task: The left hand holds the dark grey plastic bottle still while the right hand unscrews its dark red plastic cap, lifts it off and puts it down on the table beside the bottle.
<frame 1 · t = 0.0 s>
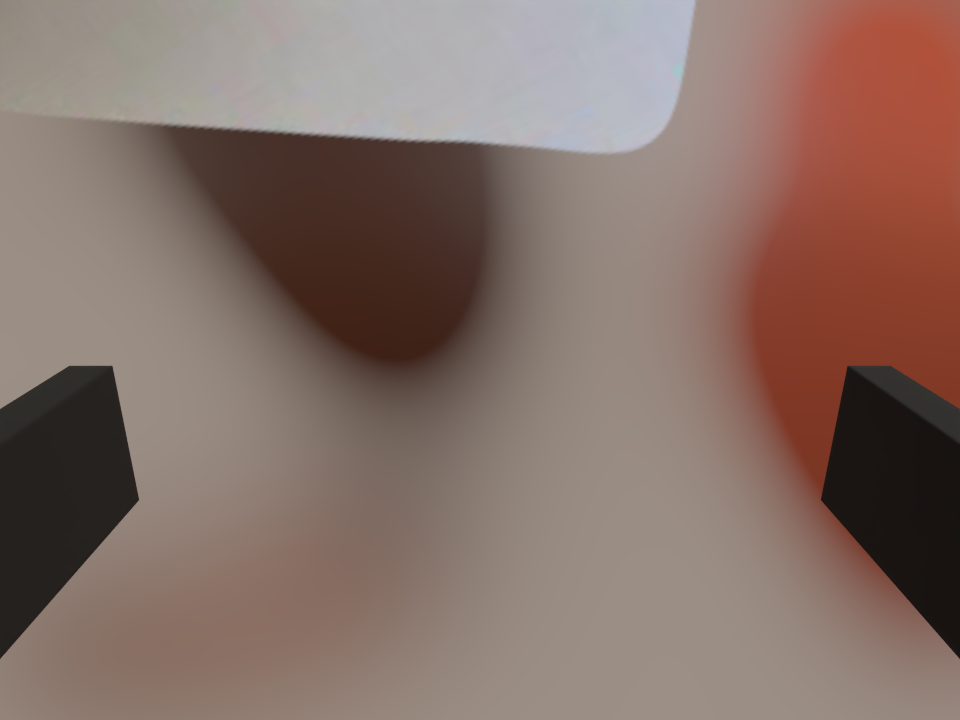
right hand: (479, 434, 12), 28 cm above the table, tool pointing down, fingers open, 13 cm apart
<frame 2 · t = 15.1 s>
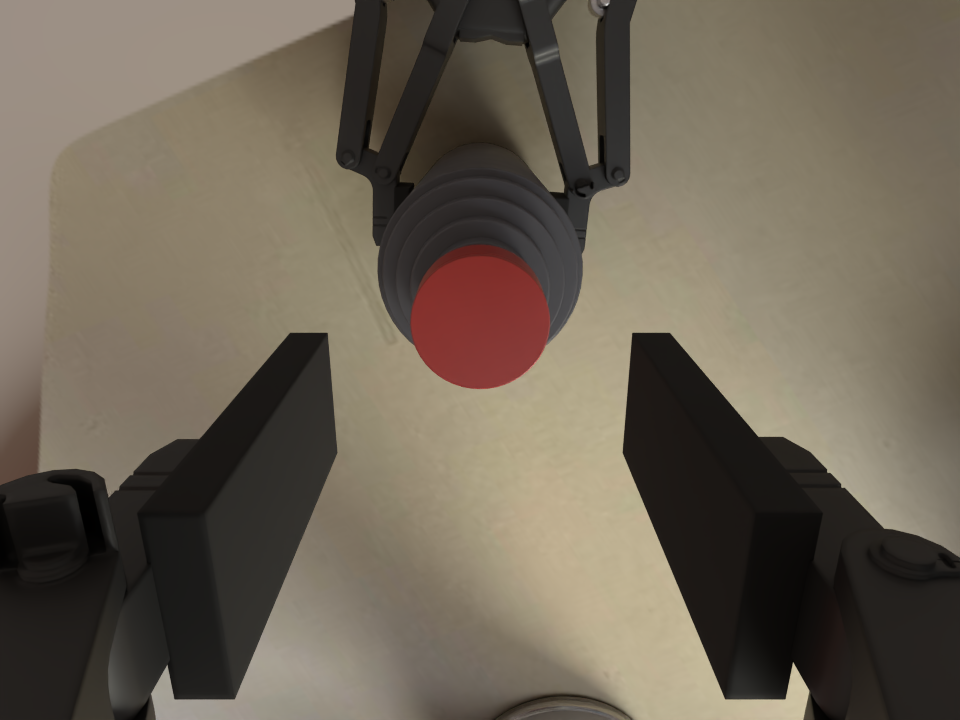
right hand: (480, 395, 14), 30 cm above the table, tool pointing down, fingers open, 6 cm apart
bottle: (480, 205, 42), on the table, touching left hand
cap: (480, 321, 19), point 25 cm above the table, screwed on, not yet turned
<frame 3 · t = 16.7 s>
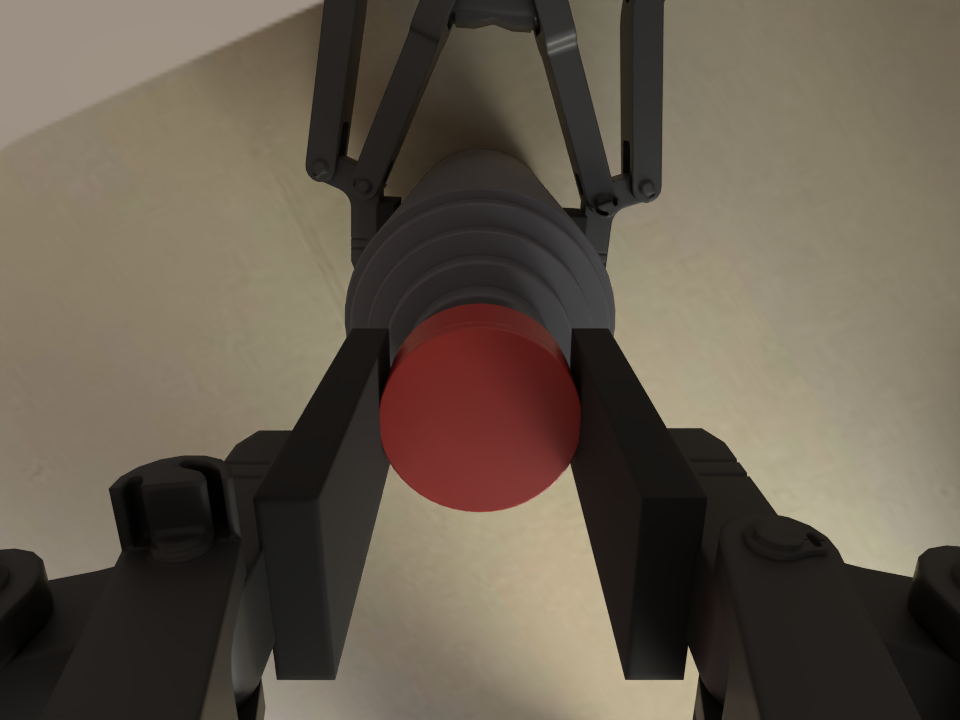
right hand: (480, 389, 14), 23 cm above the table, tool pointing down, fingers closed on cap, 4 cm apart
bottle: (480, 221, 36), on the table, touching left hand
cap: (480, 417, 13), point 25 cm above the table, screwed on, not yet turned, touching right hand
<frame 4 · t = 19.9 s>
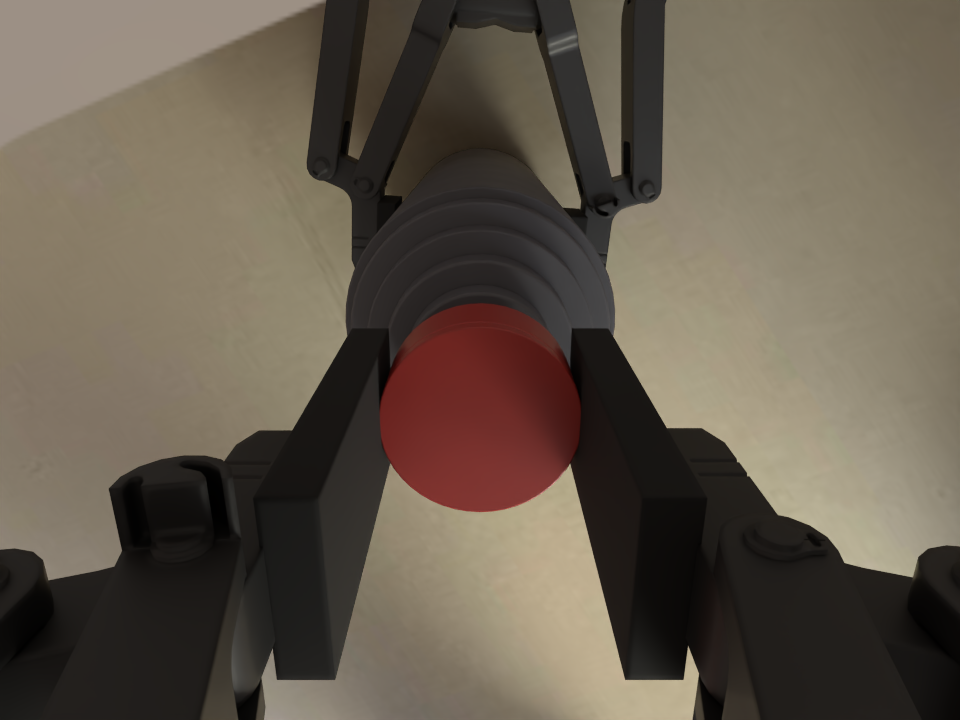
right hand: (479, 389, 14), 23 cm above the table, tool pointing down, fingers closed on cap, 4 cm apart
bottle: (480, 221, 36), on the table, touching left hand
cap: (480, 417, 13), point 25 cm above the table, turned 91° so far, risen 0.1 cm, still on its thread, touching right hand
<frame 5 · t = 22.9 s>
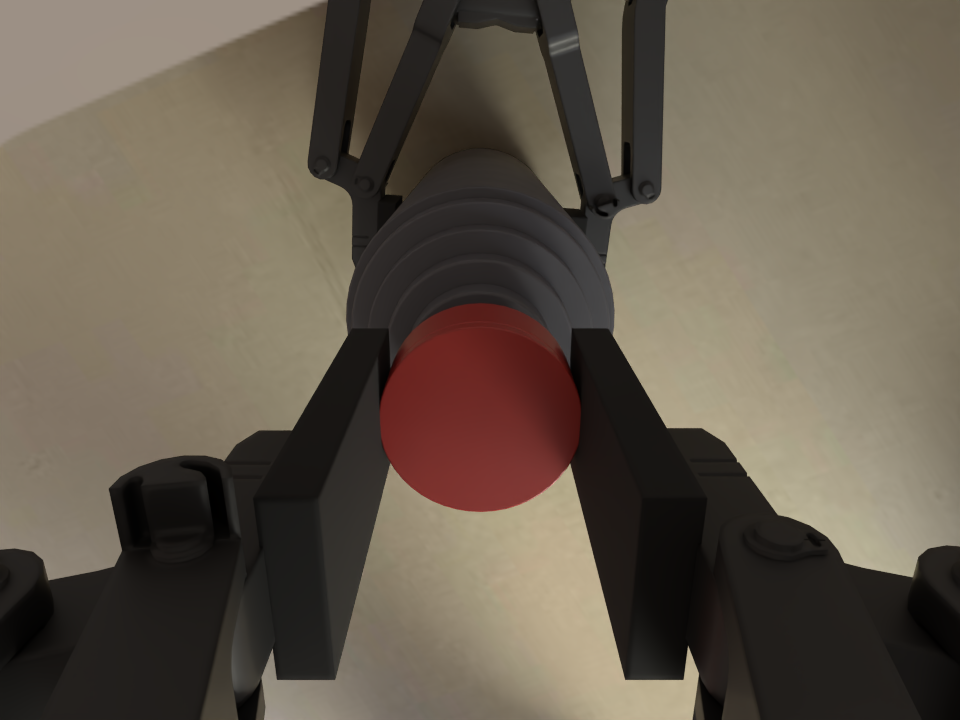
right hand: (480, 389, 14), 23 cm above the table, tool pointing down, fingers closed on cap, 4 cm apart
bottle: (480, 220, 36), on the table, touching left hand
cap: (480, 417, 13), point 25 cm above the table, turned 182° so far, risen 0.2 cm, still on its thread, touching right hand
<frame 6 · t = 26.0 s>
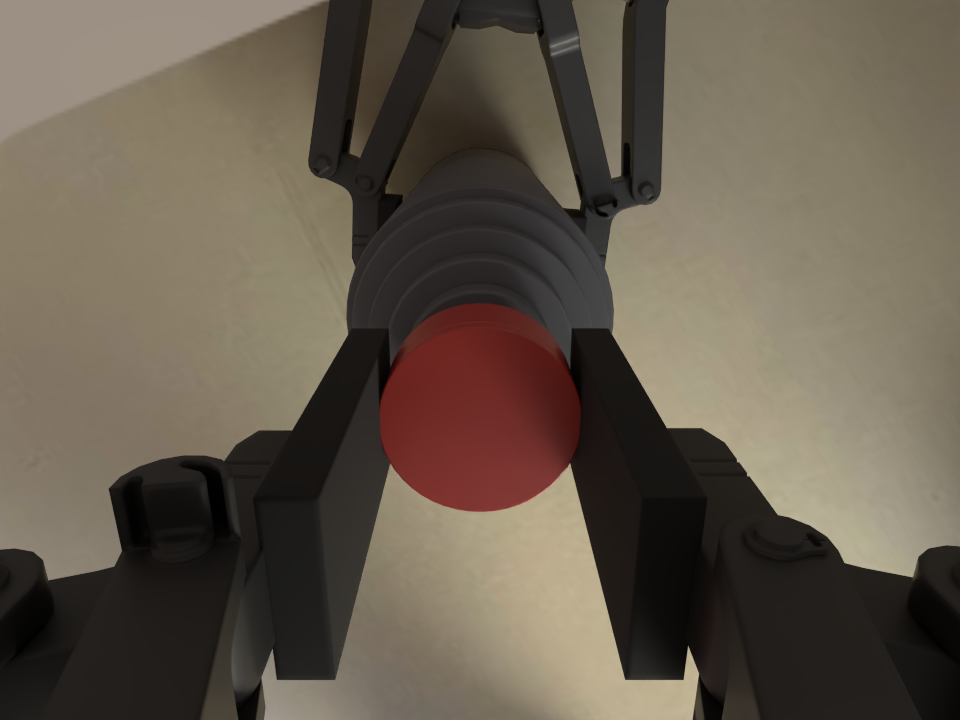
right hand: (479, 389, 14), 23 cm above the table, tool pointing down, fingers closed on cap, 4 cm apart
bottle: (480, 220, 36), on the table, touching left hand
cap: (480, 417, 13), point 25 cm above the table, turned 273° so far, risen 0.2 cm, still on its thread, touching right hand
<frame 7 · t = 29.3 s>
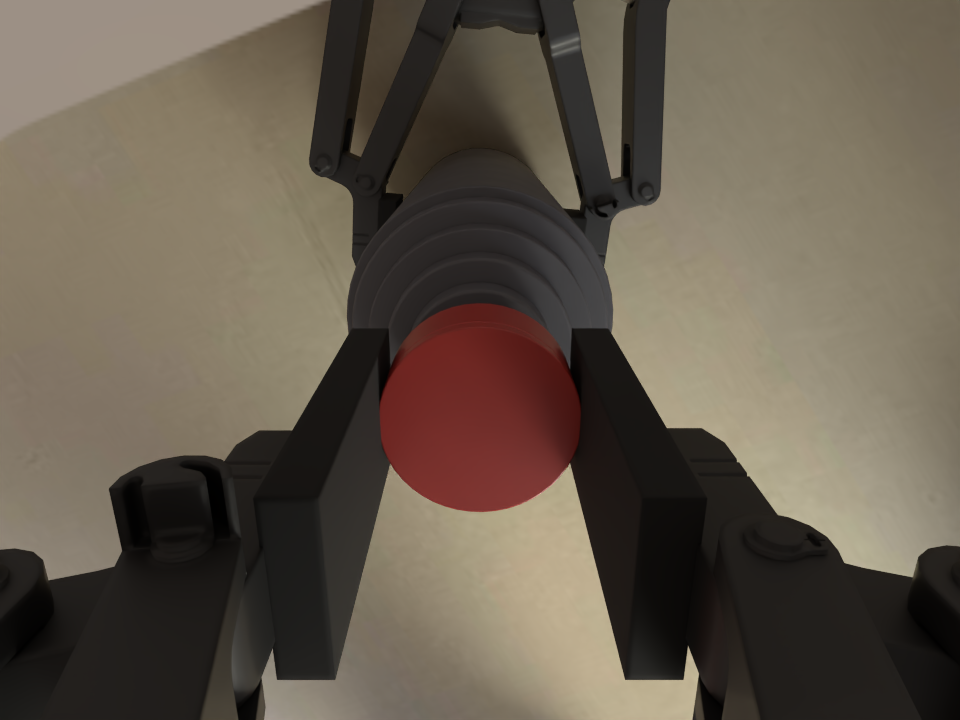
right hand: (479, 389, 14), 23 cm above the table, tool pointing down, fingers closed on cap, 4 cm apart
bottle: (480, 220, 36), on the table, touching left hand
cap: (479, 417, 13), point 25 cm above the table, turned 364° so far, risen 0.3 cm, still on its thread, touching right hand
when the right hand's fingers open (1 cm above the table, at t = 35.4 s): cap drops 1 cm, point 1 cm above the table.
when the left hand's fingers open (6 cm above the table, at t = 36.7 s): bottle stays where it is, on the table.
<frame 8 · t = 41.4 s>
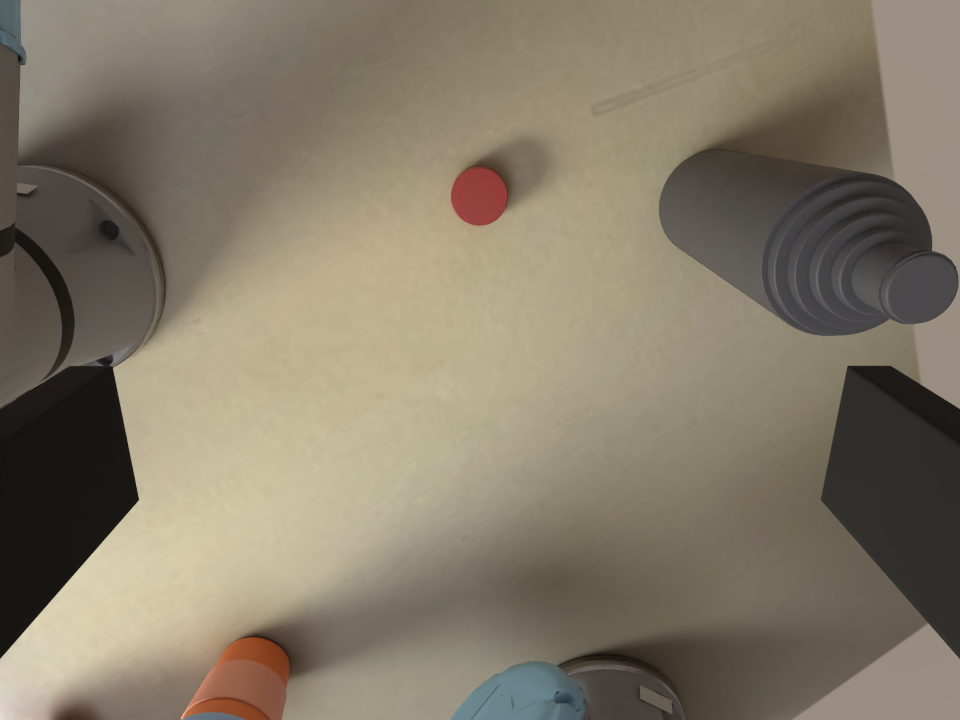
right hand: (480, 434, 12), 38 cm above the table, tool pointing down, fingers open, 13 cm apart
bottle: (711, 204, 48), on the table
cap: (479, 196, 47), point 1 cm above the table, off its thread
cup with straw: (257, 661, 62), on the table
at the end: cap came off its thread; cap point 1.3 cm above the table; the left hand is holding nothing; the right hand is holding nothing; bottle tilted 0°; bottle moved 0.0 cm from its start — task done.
